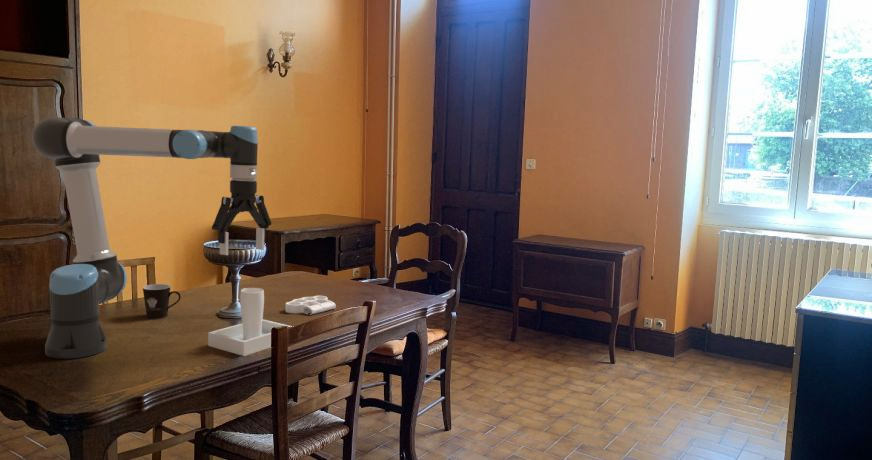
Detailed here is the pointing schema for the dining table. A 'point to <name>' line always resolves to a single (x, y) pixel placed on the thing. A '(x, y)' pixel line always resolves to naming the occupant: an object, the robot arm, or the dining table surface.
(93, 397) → the dining table surface
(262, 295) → the drinking glass
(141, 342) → the dining table surface
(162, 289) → the coffee mug
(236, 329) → the white shallow tray
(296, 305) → the white flat molded slab
